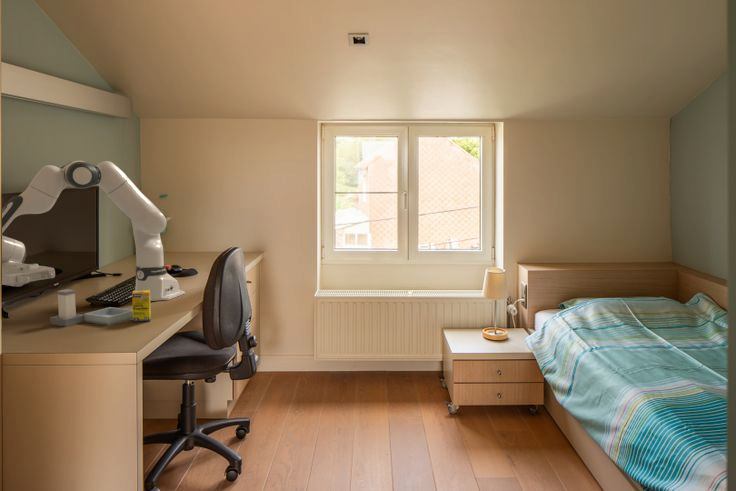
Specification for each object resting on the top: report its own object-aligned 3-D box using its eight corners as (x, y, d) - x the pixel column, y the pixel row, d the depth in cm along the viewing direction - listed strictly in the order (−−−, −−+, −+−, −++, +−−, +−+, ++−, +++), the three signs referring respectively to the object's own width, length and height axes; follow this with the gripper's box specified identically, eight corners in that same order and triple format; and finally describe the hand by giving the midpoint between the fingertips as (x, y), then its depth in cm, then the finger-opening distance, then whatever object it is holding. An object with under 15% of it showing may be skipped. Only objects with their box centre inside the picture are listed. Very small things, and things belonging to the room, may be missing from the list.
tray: (110, 314, 241) (110, 307, 240) (134, 318, 236) (134, 310, 235) (84, 321, 230) (84, 313, 229) (108, 325, 225) (108, 317, 224)
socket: (77, 317, 236) (76, 310, 236) (92, 319, 233) (92, 313, 233) (50, 324, 226) (50, 317, 225) (66, 326, 222) (65, 319, 222)
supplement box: (132, 322, 229) (131, 293, 228) (134, 318, 235) (133, 290, 233) (150, 321, 231) (149, 292, 229) (151, 317, 236) (150, 289, 235)
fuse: (68, 321, 231) (66, 289, 229) (76, 322, 229) (75, 290, 227) (58, 323, 227) (56, 291, 225) (67, 325, 225) (65, 292, 223)
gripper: (-11, 270, 227) (14, 273, 221) (39, 263, 245) (64, 265, 239) (-10, 287, 227) (15, 290, 222) (40, 278, 246) (65, 282, 240)
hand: (41, 277), depth 231 cm, fingers open, 8 cm apart
